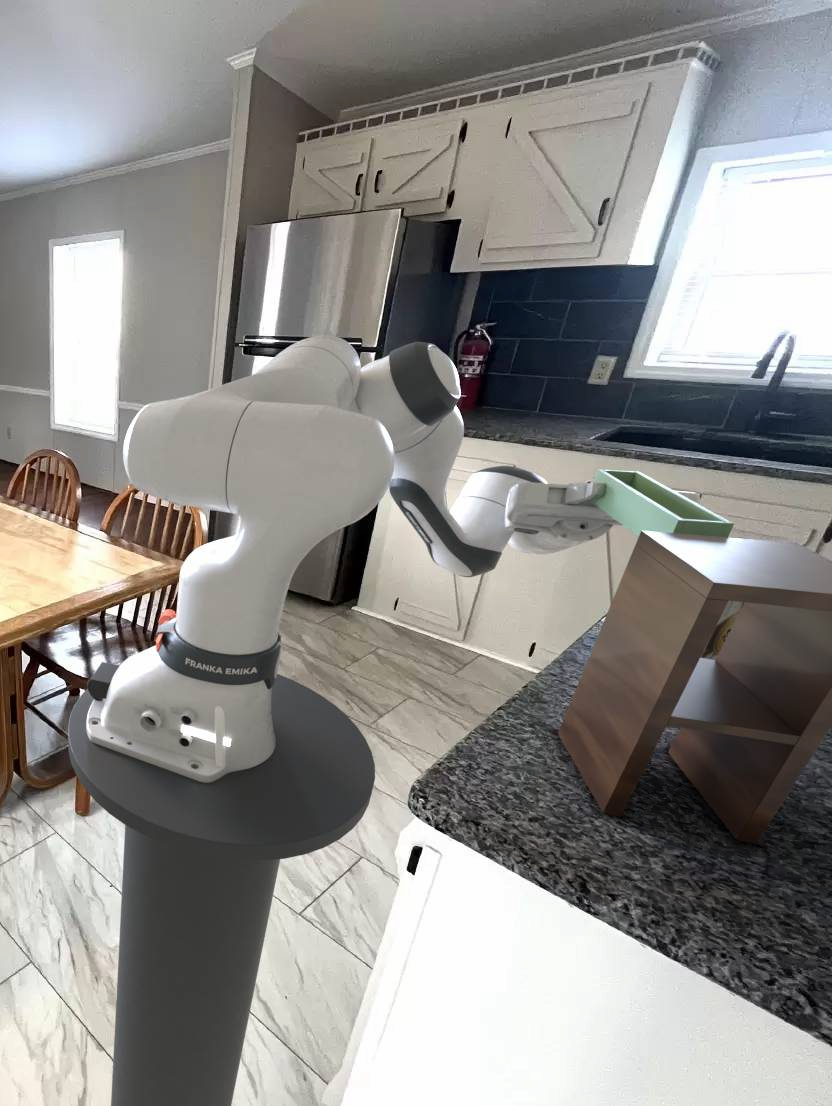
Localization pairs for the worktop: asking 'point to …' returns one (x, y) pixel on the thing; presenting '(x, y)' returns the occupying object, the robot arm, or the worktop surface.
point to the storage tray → (655, 506)
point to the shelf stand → (709, 674)
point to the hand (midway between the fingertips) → (627, 490)
